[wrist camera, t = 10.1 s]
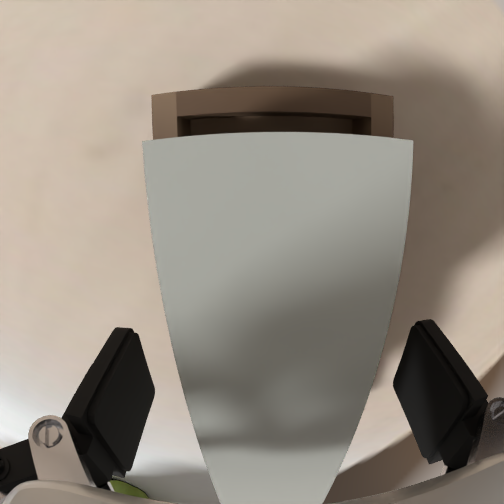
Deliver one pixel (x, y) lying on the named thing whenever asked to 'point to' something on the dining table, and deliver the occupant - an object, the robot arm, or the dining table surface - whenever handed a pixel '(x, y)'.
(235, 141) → the pale grey block
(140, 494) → the plant pot
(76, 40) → the dining table surface
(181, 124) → the brown open box
